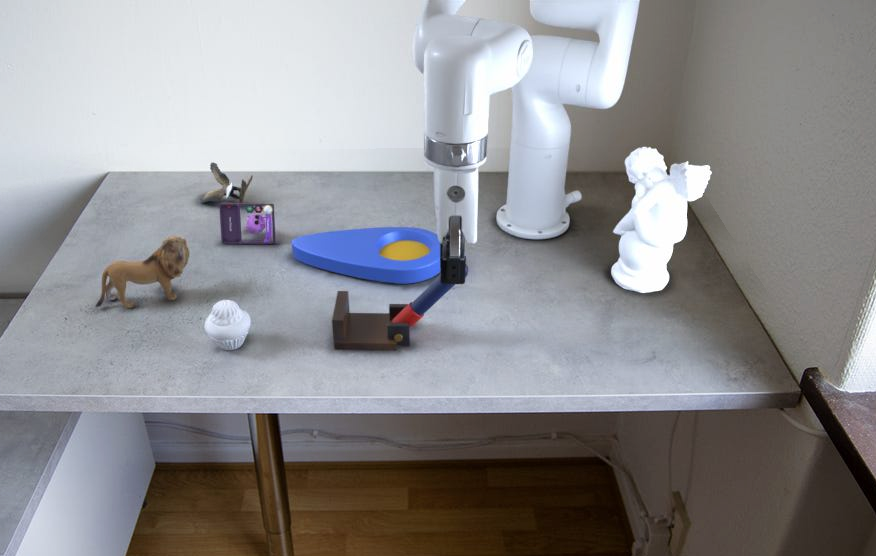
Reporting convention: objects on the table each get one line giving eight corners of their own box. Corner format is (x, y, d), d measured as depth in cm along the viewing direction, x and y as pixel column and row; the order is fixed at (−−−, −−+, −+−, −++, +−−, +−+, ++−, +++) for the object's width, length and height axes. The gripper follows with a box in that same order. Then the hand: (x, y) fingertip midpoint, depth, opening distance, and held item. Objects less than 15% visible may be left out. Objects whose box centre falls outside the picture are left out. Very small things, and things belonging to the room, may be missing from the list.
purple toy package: (217, 203, 126) (272, 204, 126) (226, 199, 131) (279, 200, 131) (220, 244, 128) (274, 245, 127) (228, 238, 133) (280, 239, 132)
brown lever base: (411, 320, 111) (410, 291, 108) (409, 350, 105) (409, 321, 102) (339, 319, 111) (337, 290, 108) (334, 349, 105) (331, 320, 102)
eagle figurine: (258, 186, 143) (215, 172, 145) (249, 166, 136) (204, 151, 138) (240, 221, 141) (196, 206, 142) (230, 203, 134) (184, 187, 135)
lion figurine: (192, 277, 120) (182, 226, 115) (200, 294, 116) (190, 243, 111) (94, 301, 115) (78, 249, 110) (98, 320, 111) (82, 267, 106)
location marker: (282, 278, 120) (440, 288, 117) (279, 259, 118) (440, 269, 115) (305, 236, 131) (451, 244, 127) (303, 218, 129) (451, 226, 125)
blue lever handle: (472, 264, 102) (457, 252, 102) (472, 275, 100) (457, 263, 99) (407, 325, 109) (392, 314, 108) (406, 336, 106) (391, 326, 105)
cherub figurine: (598, 263, 123) (618, 133, 110) (668, 252, 126) (696, 124, 113) (634, 305, 113) (661, 168, 101) (709, 293, 116) (744, 158, 103)
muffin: (204, 336, 108) (196, 295, 104) (247, 325, 110) (241, 285, 106) (213, 362, 103) (205, 320, 99) (258, 350, 105) (252, 308, 101)
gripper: (491, 176, 85) (484, 311, 95) (483, 119, 98) (477, 244, 109) (423, 176, 85) (423, 311, 95) (424, 119, 98) (424, 244, 109)
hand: (452, 274), depth 102 cm, fingers closed on blue lever handle, 2 cm apart
